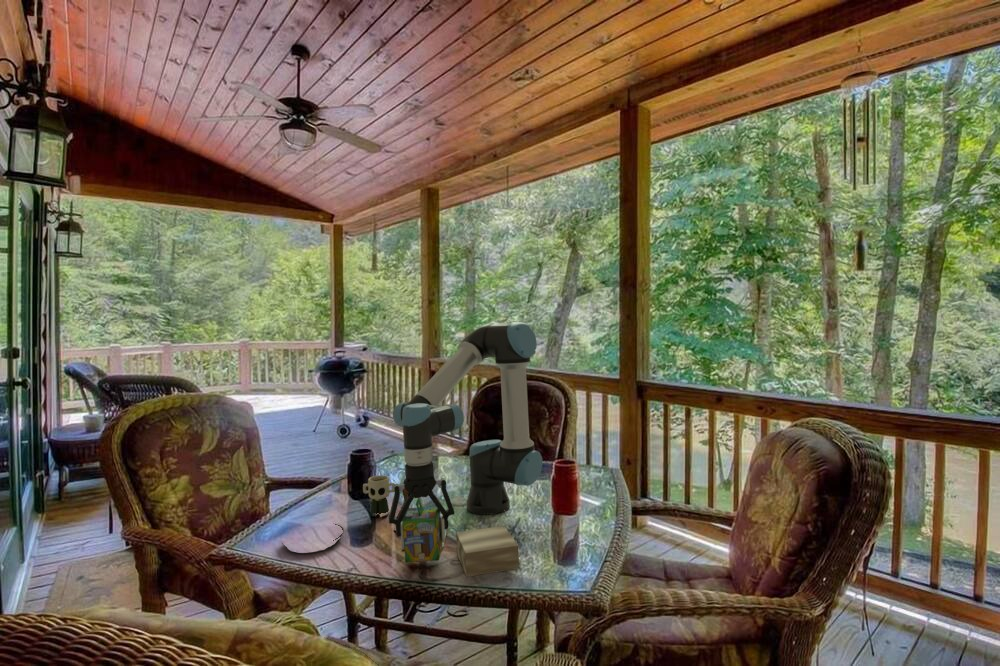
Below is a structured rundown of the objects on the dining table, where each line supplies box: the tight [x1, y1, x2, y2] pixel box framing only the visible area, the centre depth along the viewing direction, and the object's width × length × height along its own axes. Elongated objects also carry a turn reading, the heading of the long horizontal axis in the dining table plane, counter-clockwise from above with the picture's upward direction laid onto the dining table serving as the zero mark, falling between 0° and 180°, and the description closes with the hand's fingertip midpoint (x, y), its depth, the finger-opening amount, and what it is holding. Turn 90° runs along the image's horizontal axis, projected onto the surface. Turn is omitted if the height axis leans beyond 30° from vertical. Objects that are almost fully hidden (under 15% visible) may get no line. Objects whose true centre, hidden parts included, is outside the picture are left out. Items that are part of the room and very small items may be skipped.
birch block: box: [455, 525, 520, 578], centre depth 138 cm, size 14×14×6 cm
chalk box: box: [402, 498, 443, 564], centre depth 137 cm, size 9×9×15 cm
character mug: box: [362, 475, 396, 514], centre depth 174 cm, size 11×7×13 cm, turn 90°
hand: (423, 544), depth 137 cm, fingers closed on chalk box, 10 cm apart
